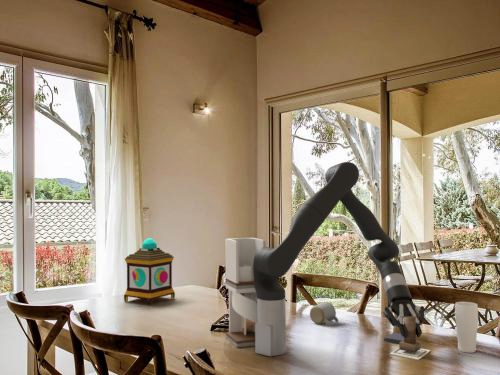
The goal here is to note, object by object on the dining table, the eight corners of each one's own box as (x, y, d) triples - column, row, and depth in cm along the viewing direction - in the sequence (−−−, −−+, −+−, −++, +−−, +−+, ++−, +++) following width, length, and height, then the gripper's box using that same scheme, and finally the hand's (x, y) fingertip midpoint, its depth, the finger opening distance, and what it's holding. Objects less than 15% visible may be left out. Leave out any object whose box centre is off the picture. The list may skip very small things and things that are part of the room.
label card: (418, 360, 149) (418, 359, 150) (389, 354, 155) (389, 353, 155) (430, 351, 158) (430, 350, 158) (403, 345, 164) (403, 344, 164)
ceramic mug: (308, 323, 194) (308, 303, 194) (320, 319, 200) (320, 300, 200) (330, 328, 187) (330, 308, 187) (342, 324, 193) (342, 304, 193)
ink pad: (403, 344, 165) (403, 341, 165) (383, 340, 170) (383, 337, 170) (413, 338, 172) (413, 335, 172) (394, 335, 177) (394, 332, 177)
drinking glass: (459, 346, 163) (458, 300, 163) (481, 350, 159) (480, 303, 159) (452, 351, 158) (452, 304, 158) (475, 355, 153) (474, 307, 154)
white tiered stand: (226, 338, 174) (225, 238, 175) (254, 335, 178) (253, 237, 178) (236, 347, 163) (235, 241, 164) (266, 343, 167) (265, 240, 168)
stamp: (414, 352, 153) (414, 320, 153) (399, 349, 156) (398, 317, 156) (420, 348, 157) (420, 317, 157) (405, 345, 160) (405, 314, 160)
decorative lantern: (179, 299, 241) (178, 237, 242) (150, 306, 225) (150, 240, 225) (148, 294, 252) (148, 236, 252) (119, 302, 235) (119, 239, 236)
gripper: (379, 284, 164) (394, 331, 151) (420, 283, 165) (438, 329, 153) (373, 297, 169) (387, 343, 157) (413, 295, 170) (430, 341, 158)
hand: (412, 336), depth 155 cm, fingers open, 3 cm apart
